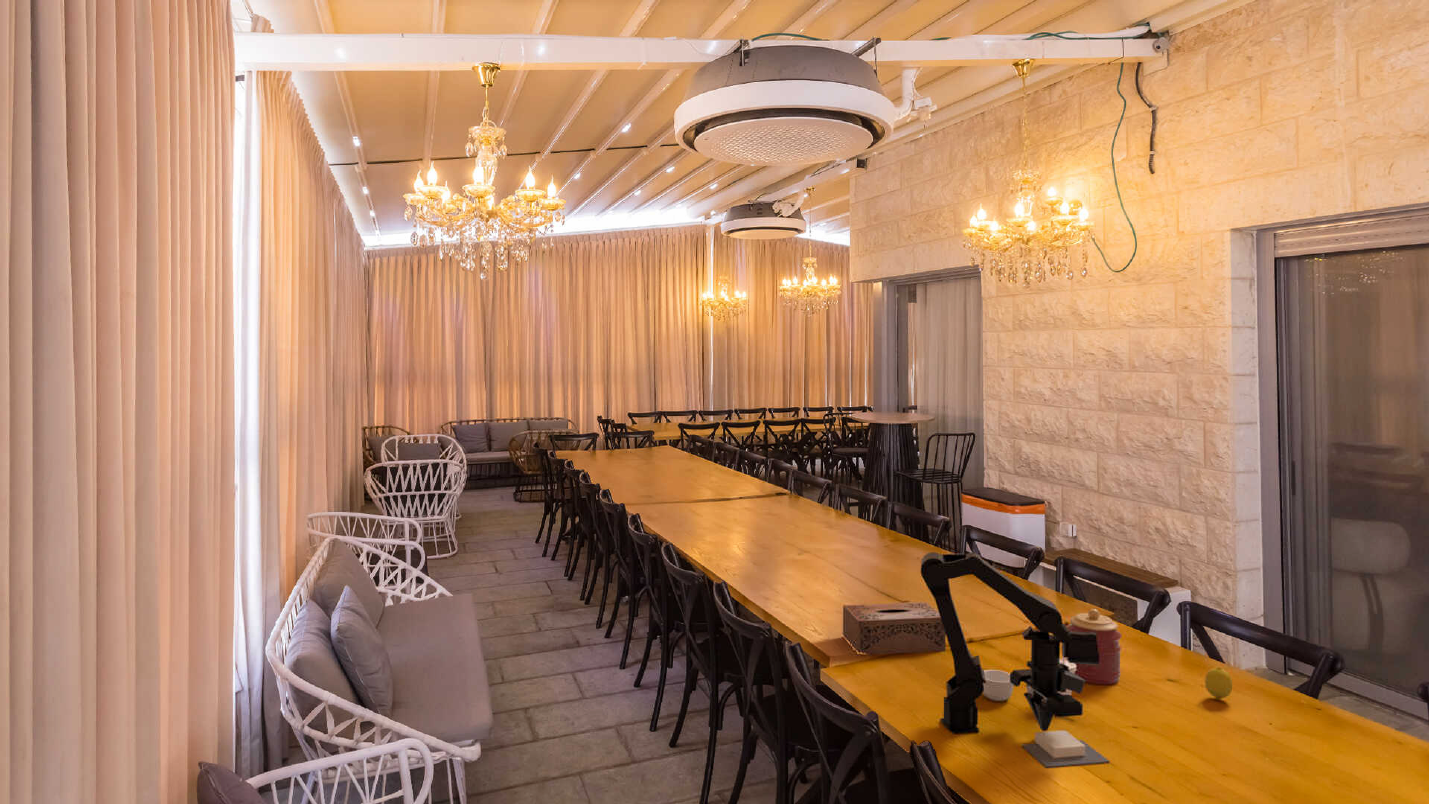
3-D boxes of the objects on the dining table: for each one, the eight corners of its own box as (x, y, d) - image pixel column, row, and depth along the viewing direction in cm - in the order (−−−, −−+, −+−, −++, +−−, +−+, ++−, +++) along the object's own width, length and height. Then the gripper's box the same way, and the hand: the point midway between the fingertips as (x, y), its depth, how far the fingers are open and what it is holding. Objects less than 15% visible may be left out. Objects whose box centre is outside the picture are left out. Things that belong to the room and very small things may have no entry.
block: (1035, 741, 166) (1054, 758, 159) (1035, 732, 166) (1054, 748, 159) (1065, 739, 167) (1085, 755, 160) (1065, 730, 167) (1085, 745, 160)
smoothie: (1059, 710, 182) (1060, 651, 182) (1040, 698, 189) (1041, 642, 188) (1081, 706, 184) (1083, 649, 184) (1062, 695, 190) (1064, 639, 190)
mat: (1046, 767, 156) (1046, 766, 156) (1022, 746, 165) (1022, 744, 165) (1109, 762, 158) (1109, 761, 158) (1082, 741, 167) (1082, 740, 167)
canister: (1115, 690, 194) (1116, 620, 193) (1059, 677, 202) (1061, 610, 201) (1124, 673, 204) (1126, 607, 203) (1071, 662, 212) (1073, 598, 211)
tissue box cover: (858, 656, 217) (858, 621, 217) (842, 638, 232) (843, 605, 231) (945, 651, 221) (945, 617, 220) (925, 634, 235) (925, 602, 234)
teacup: (1007, 707, 184) (1007, 685, 184) (975, 698, 189) (975, 676, 189) (1020, 693, 192) (1020, 672, 192) (989, 685, 197) (989, 664, 196)
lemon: (1206, 692, 192) (1207, 661, 192) (1233, 698, 189) (1234, 666, 188) (1203, 700, 188) (1204, 667, 188) (1230, 706, 184) (1231, 673, 184)
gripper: (1107, 674, 161) (1105, 747, 161) (1053, 642, 179) (1052, 709, 180) (1057, 677, 159) (1056, 752, 159) (1009, 645, 177) (1008, 712, 178)
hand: (1043, 730), depth 169 cm, fingers closed
